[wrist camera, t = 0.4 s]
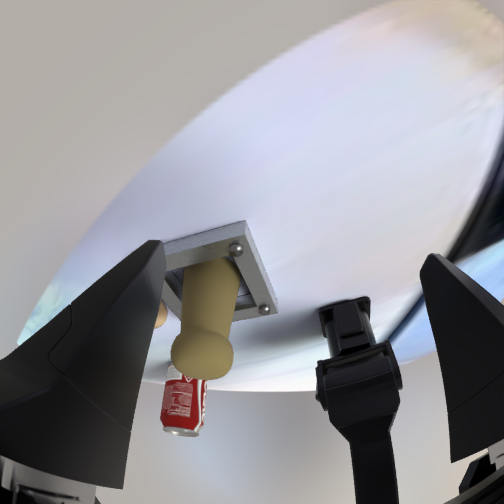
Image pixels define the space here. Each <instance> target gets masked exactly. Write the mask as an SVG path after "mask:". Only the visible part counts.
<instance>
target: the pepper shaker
mask: <svg viewBox="0 0 504 504" xmlns="http://www.w3.org/2000/svg"><path fill="white" fill-rule="evenodd" d="M240 282H241V274H240V270H239V269H238V267H237V266H236V265H235V264H234V263H233V262H231V261H230V260H228V259H227V258H224V257H221V258H217V259H213V260H209V261H205V262H201V263H197V264H193V265H189V266H185V269H184V275H183V291H182V310H181V333H180V334H179V335H178V336H176V338H175V340H174V342H173V345H172V348H171V359H172V363H173V365H174V367H175V368H176V369H177V370H178V371H179V372H180V373H182V374H184V375H185V376H188V377H190V378H194V379H199V380H213V379H218V378H220V377H223V376H225V375H226V374H227V373H228V371H229V370H230V369H231V366H232V363H233V349H232V346H231V344H230V342H229V340H228V337H229V332H230V327H231V323H232V318H233V314H234V309H235V305H236V300H237V296H238V291H239V286H240Z"/></svg>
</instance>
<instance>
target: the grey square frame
mask: <svg viewBox="0 0 504 504" xmlns="http://www.w3.org/2000/svg"><path fill="white" fill-rule="evenodd" d="M163 246H164V251H165V256H166V263H167V266H166V272H165V278H164V284H163V289H162V295H161V298H162V299H163V300H164V301H165V303H166V304H167V305H168V306H169V308H170V309H171V310H172V311H173V312H174V314H175V315H176V316H177V317H178V318H179V320H180V321H181V310H182V291H183V286H182V285H181V283H180V282H179V280H178V279H177V277H176V276H175V274H174V273H173V271H172V270H173V269H177V268H181V267H185V266H189V265H193V264H197V263H201V262H205V261H209V260H213V259H217V258H221V257H225V256H229V255H231V256H233V257H234V259H235V261H236V263H237V266H238V268H239V270H240V272H241V274H242V276H243V278H244V280H245V282H246V284H247V286H248V288H249V290H250V292H251V294H248V295H243V296H238V297H237V300H236V305H235V309H234V314H233V318H232V322H234V321H239V320H245V319H250V318H256V317H261V316H266V315H271V314H276V313H278V307H277V298H276V295H275V293H274V290H273V288H272V285H271V283H270V280H269V278H268V275H267V273H266V270H265V268H264V265H263V263H262V260H261V258H260V255H259V253H258V250H257V248H256V245H255V243H254V240H253V238H252V235H251V233H250V230H249V228H248V225H247V223H246V220H245V221H242V222H238V223H234V224H231V225H227V226H224V227H220V228H216V229H213V230H209V231H206V232H202V233H199V234H195V235H192V236H188V237H185V238H181V239H178V240H175V241H171V242H168V243H165V244H163Z"/></svg>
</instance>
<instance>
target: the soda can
mask: <svg viewBox="0 0 504 504" xmlns="http://www.w3.org/2000/svg"><path fill="white" fill-rule="evenodd" d="M206 389H207V380H199V379H194V378H190V377H188V376H185V375H184V374H182V373H180V372H179V371H178V370H177V369H176V368H175V367H174V365H173V363H171V364H170V365H169V366H168V371H167V377H166V383H165V390H164V396H163V402H162V410H161V416H160V419H161V421H162V423H163V425H164V427H163V430H164V431H165V432H168V433H171V434H174V435H179V436H187V437H196V436H199V433H198V432H199V431H200V429H201V428H202V427H203V426H204V414H205V400H206Z"/></svg>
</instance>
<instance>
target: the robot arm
mask: <svg viewBox="0 0 504 504" xmlns="http://www.w3.org/2000/svg"><path fill="white" fill-rule="evenodd" d="M166 266H167V263H166V256H165V251H164V246H163V242H162V241H161V240H148V241H147V242H145V243H144V244H143V245H141V246H140V247H139V248H138V249H136V250H135V251H134V252H132V253H131V254H130V255H128V256H127V257H126V258H125V259H123V260H122V261H121V262H119V263H118V264H117V265H116V266H114V267H113V268H112V269H111V270H109V271H108V272H107V273H106V274H105V275H103V276H102V277H101V278H100V279H98V280H97V281H96V282H95V283H94V284H92V285H91V286H90V287H89V288H88V289H86V290H85V291H84V292H83V293H82V294H81V295H79V296H78V297H77V298H76V299H75V300H74V301H72V302H71V305H70V304H69V305H68V306H67V307H66V308H64V309H63V310H62V311H61V312H60V313H59V314H58V315H56V316H55V317H54V318H53V319H52V320H51V321H50V322H48V323H47V324H46V325H45V326H43V327H42V328H41V329H40V330H39V331H37V332H36V333H35V334H34V335H32V336H31V337H30V338H29V339H27V340H26V341H25V342H24V343H22V344H21V345H20V346H19V347H18V348H17V349H15V350H14V351H13V352H12V353H10V354H9V355H8V356H7V357H5V358H3V359H1V360H0V504H100V502H99V501H98V499H97V498H96V496H95V493H96V485H97V486H102V487H109V488H115V489H123V484H124V476H125V468H126V461H127V454H128V448H129V442H130V436H131V432H130V431H131V429H132V423H133V418H134V413H135V408H136V403H137V398H138V393H139V388H140V384H141V380H142V375H143V371H144V367H145V362H146V358H147V354H148V350H149V346H150V342H151V338H152V334H153V331H154V327H155V323H156V320H157V316H158V312H159V307H160V301H161V295H162V289H163V284H164V278H165V272H166ZM420 280H421V285H422V289H423V293H424V298H425V303H426V308H427V313H428V316H429V320H430V324H431V328H432V332H433V336H434V340H435V344H436V348H437V352H438V357H439V362H440V367H441V372H442V378H443V383H444V390H445V397H446V404H447V412H448V424H449V435H450V436H449V437H450V456H451V457H450V459H451V463H453V462H456V461H458V460H461V459H463V458H466V457H468V456H470V455H473V454H475V453H477V452H479V451H481V450H484V449H485V448H488V452H487V453H486V454H484V455H482V456H481V457H479V458H477V459H476V460H474V461H472V462H471V463H470V464H469V467H468V469H467V471H466V473H465V475H464V478H463V480H462V482H461V484H460V486H459V496H457V497H455V498H453V499H452V500H450V501H448V502H446V503H444V504H504V305H503V304H501V303H500V302H499V301H498V300H497V299H496V298H495V297H493V296H492V295H491V294H490V293H489V292H488V291H486V290H485V289H484V288H483V287H482V286H480V285H479V284H478V283H477V282H475V281H474V280H473V279H472V278H470V277H469V276H468V275H467V274H465V273H464V272H463V271H461V270H460V269H459V268H458V267H456V266H455V265H454V264H452V263H451V262H450V261H448V260H447V259H445V258H444V257H443V256H441V255H440V254H435V253H431V254H429V255H428V256H427V258H426V260H425V262H424V264H423V266H422V268H421V270H420ZM370 302H371V301H370V298H369V297H364V298H361V299H357V300H353V301H349V302H345V303H341V304H337V305H333V306H329V307H325V308H321V309H319V311H318V312H319V316H320V321H321V326H322V331H323V336H324V337H325V338H327V341H328V346H329V351H330V357H331V358H330V359H326V360H319V361H317V364H318V367H316V368H315V369H316V377H317V385H316V400H317V401H319V402H320V403H321V405H322V407H323V409H324V411H328V414H329V420H330V422H331V423H332V424H333V426H334V427H335V428H336V429H337V430H338V431H339V432H340V433H341V434H342V435H343V436H344V437H345V439H347V441H348V442H349V443H350V450H351V458H352V467H353V475H354V486H355V496H356V504H399V498H398V486H397V478H396V469H395V462H394V455H393V448H392V442H391V436H390V430H391V427H392V425H393V422H394V419H395V416H396V413H397V410H398V407H399V404H400V397H399V392H398V390H401V389H402V387H403V386H402V379H401V374H400V369H399V366H398V363H397V360H396V358H395V355H394V352H393V350H392V347H391V344H390V342H389V339H387V340H385V341H384V342H381V343H378V344H376V341H375V337H374V334H373V330H372V327H371V324H370Z"/></svg>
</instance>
